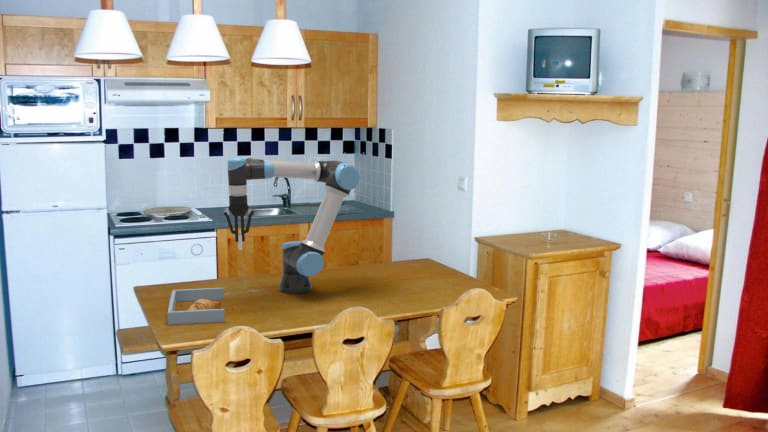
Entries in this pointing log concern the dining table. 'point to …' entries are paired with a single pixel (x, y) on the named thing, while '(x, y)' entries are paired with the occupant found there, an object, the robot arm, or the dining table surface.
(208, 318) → the crate
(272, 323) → the dining table surface
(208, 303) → the croissant
